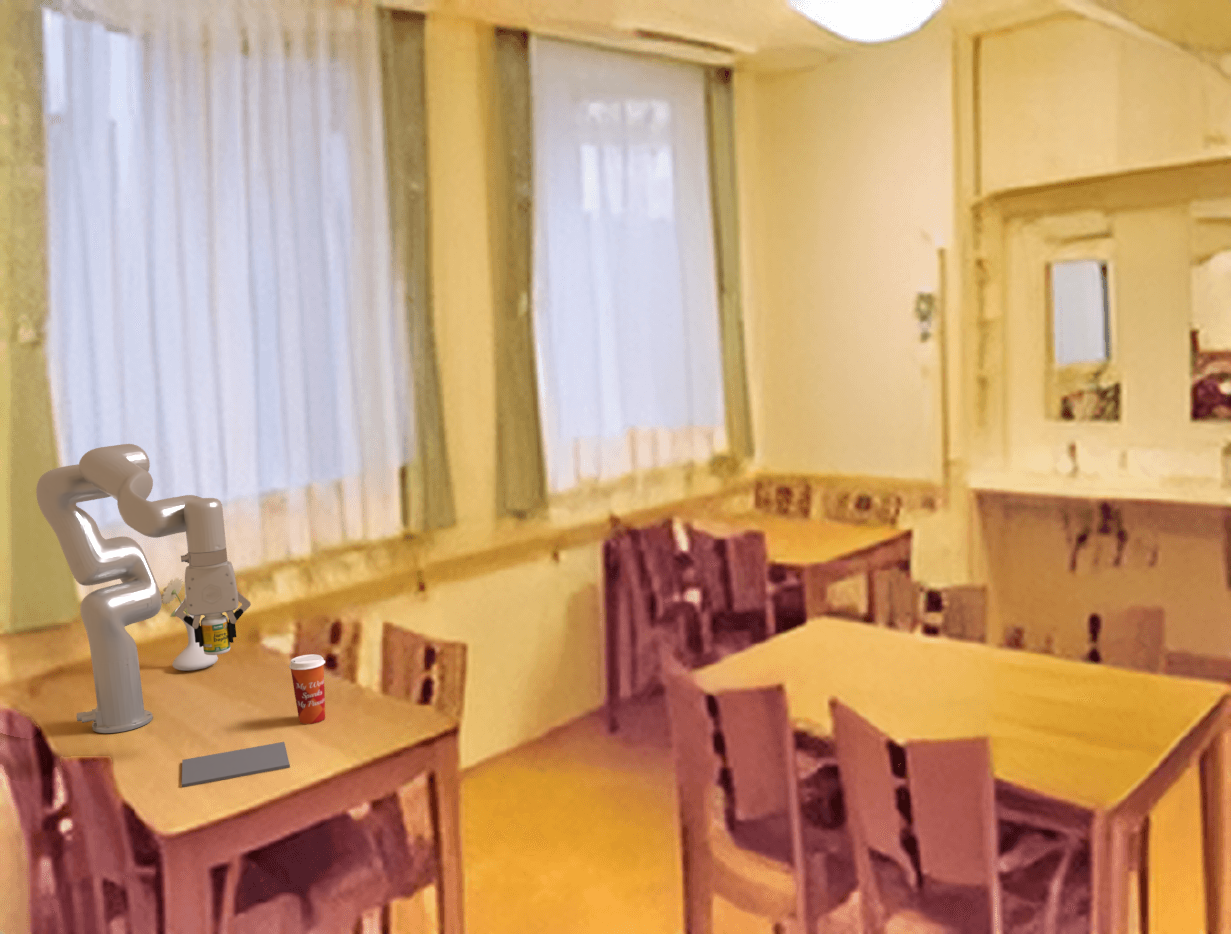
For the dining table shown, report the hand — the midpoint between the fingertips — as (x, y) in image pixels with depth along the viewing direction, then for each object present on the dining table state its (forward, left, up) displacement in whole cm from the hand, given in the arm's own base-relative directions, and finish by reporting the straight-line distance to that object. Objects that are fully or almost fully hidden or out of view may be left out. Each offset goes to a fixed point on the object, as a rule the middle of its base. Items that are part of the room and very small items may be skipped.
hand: (216, 642), depth 234 cm
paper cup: (+18, +7, -22) cm, 30 cm away
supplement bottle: (0, 0, -2) cm, 2 cm away
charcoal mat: (+1, -13, -22) cm, 26 cm away
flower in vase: (-7, +66, -22) cm, 70 cm away
